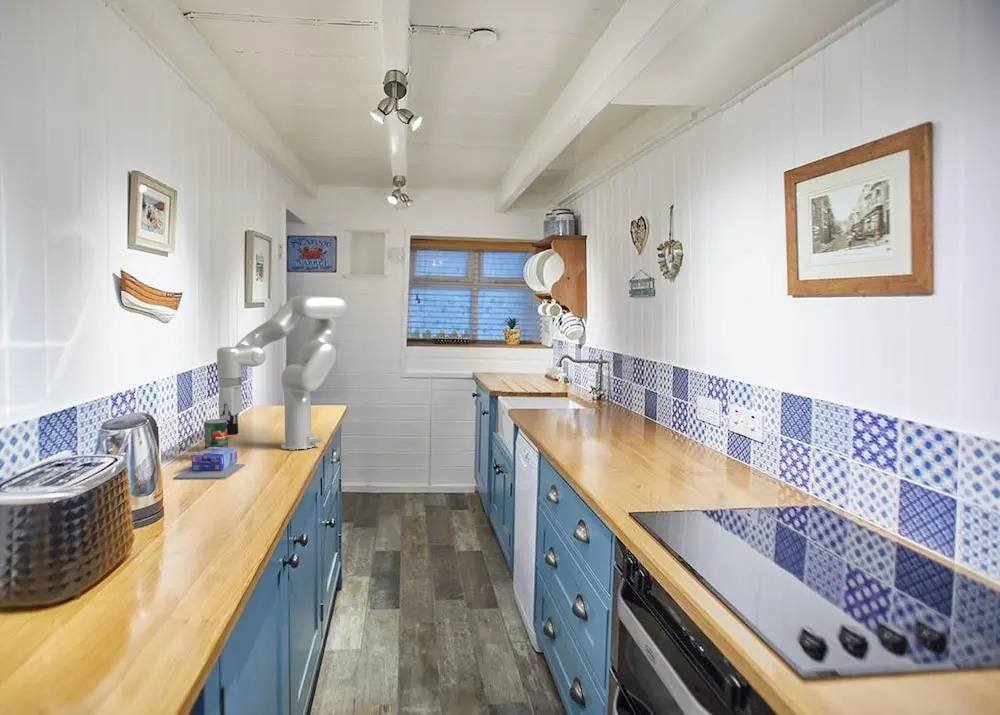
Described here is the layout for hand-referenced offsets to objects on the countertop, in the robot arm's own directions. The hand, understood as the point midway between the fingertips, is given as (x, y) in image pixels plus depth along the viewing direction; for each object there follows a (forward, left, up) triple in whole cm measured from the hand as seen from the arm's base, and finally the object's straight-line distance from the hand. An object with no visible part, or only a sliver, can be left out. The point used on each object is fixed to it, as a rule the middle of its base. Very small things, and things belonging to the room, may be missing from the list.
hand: (233, 434), depth 216 cm
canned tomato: (+11, -14, -9) cm, 20 cm away
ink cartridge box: (+1, +7, -5) cm, 9 cm away
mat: (0, +18, -9) cm, 20 cm away
